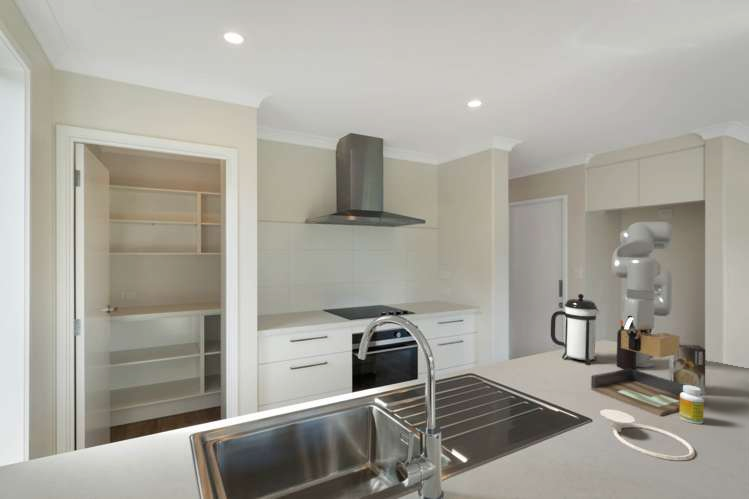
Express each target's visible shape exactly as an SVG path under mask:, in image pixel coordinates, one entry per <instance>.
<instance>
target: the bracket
mask: <svg viewBox="0 0 749 499" xmlns="http://www.w3.org/2000/svg"><path fill="white" fill-rule="evenodd" d="M632 331H633V330H632ZM635 332H636V331H634V333H635ZM638 339H640V351H636V352H640V353H643V354H647V355H651V356H654V357H656V358H660V359H661V358H665V357H669V356H672V355H677V354H679V343H680V335H678V334H677V335H676V334H671V333H668V332H667V333H666V332H660V333H650V334H649V333H644V332H639V338H638ZM628 347H629V337H628V334H627V332H626V331H625V330H621V348H624V349H628V350H630V349H629V348H628ZM632 351H634V350H632Z"/></svg>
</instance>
